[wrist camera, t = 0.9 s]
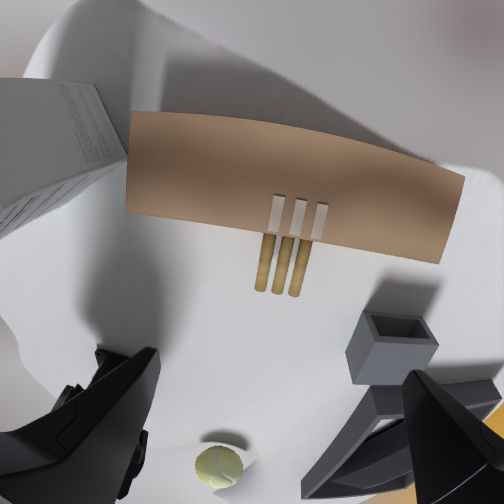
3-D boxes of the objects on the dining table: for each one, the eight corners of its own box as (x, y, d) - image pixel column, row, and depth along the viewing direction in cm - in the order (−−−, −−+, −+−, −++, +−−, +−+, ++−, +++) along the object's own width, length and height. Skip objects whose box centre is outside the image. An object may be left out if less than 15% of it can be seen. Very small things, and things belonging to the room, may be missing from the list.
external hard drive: (458, 422, 31) (466, 441, 27) (361, 475, 37) (363, 493, 33) (433, 398, 28) (443, 422, 24) (316, 461, 34) (317, 483, 30)
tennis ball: (220, 498, 30) (247, 490, 28) (180, 479, 30) (202, 470, 27) (230, 465, 36) (256, 454, 34) (194, 446, 36) (216, 433, 33)
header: (392, 294, 22) (412, 327, 18) (151, 256, 22) (127, 284, 18) (432, 165, 18) (466, 177, 14) (159, 113, 18) (130, 111, 14)
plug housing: (401, 354, 25) (414, 384, 21) (344, 351, 25) (352, 384, 21) (421, 316, 23) (439, 345, 19) (362, 310, 23) (375, 341, 19)
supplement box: (38, 133, 19) (-79, 162, 7) (96, 82, 17) (-37, 73, 5) (69, 204, 21) (-43, 270, 10) (132, 161, 19) (0, 210, 8)
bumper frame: (402, 472, 38) (405, 488, 35) (300, 480, 38) (301, 499, 35) (491, 379, 27) (502, 398, 23) (369, 386, 27) (377, 415, 23)
